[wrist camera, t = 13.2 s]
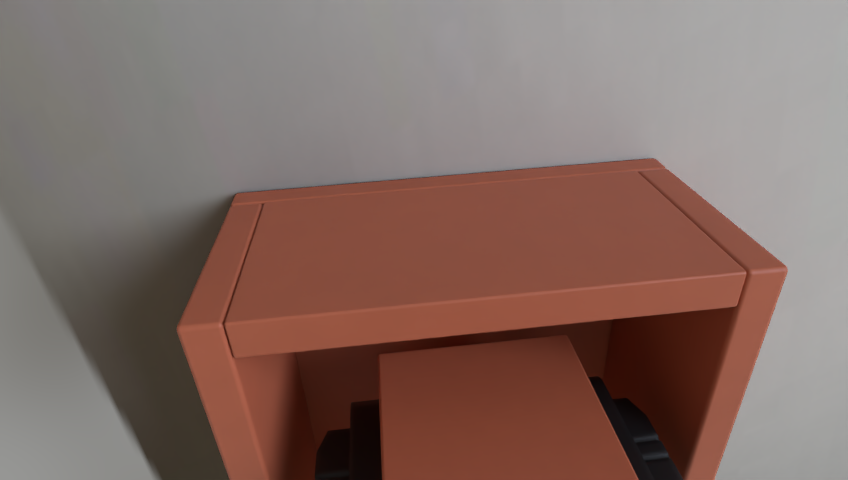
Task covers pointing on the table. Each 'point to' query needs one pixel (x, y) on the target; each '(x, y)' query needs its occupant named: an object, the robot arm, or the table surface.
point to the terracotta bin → (475, 300)
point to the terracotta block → (495, 415)
